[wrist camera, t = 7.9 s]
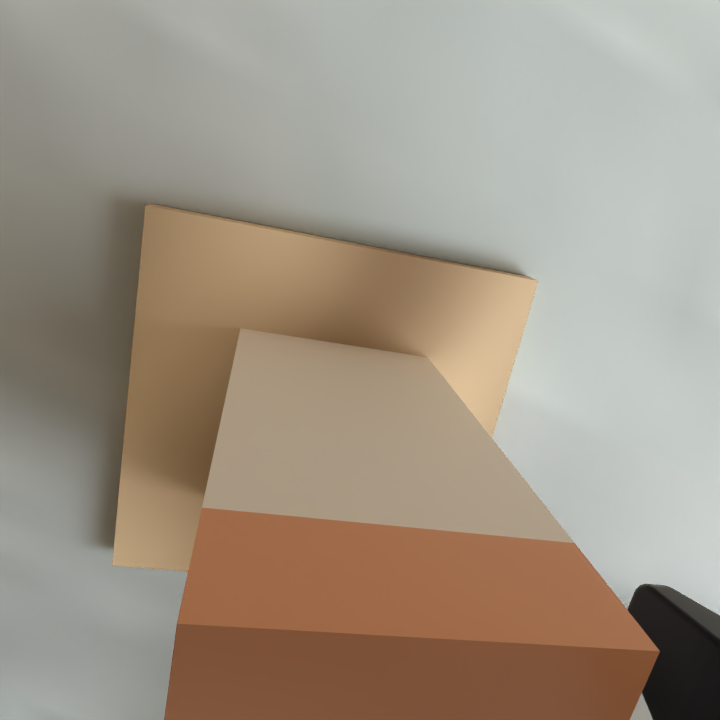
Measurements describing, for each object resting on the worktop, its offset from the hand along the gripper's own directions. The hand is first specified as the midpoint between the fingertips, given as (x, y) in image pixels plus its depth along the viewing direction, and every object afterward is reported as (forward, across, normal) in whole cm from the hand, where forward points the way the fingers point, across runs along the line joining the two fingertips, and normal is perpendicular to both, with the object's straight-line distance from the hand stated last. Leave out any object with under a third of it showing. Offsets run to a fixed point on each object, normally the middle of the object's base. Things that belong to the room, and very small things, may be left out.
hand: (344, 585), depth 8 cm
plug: (+5, 0, 0) cm, 5 cm away
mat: (+6, 0, 0) cm, 6 cm away
